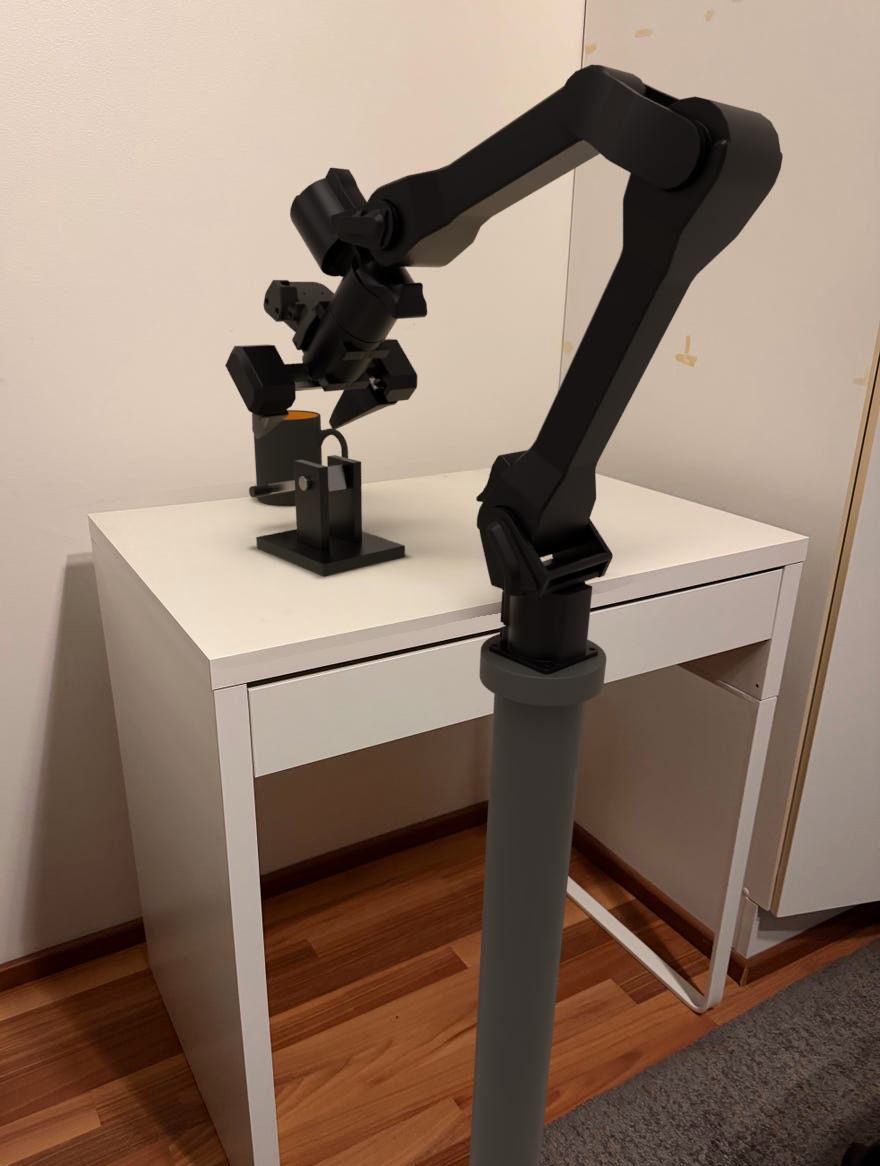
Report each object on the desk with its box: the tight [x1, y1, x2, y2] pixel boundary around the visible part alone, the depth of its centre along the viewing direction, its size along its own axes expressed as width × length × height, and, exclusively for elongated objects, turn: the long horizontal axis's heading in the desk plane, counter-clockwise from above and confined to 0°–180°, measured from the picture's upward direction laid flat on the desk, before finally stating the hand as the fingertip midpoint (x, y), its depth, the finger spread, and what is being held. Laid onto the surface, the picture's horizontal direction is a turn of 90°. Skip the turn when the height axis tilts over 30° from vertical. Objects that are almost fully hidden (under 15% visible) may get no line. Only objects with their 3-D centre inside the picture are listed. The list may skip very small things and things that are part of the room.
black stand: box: [255, 454, 406, 577], centre depth 87 cm, size 12×10×9 cm
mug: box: [253, 409, 349, 507], centre depth 108 cm, size 8×12×10 cm
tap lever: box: [248, 465, 347, 498], centre depth 90 cm, size 13×5×2 cm, turn 40°
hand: (295, 430), depth 88 cm, fingers open, 9 cm apart
